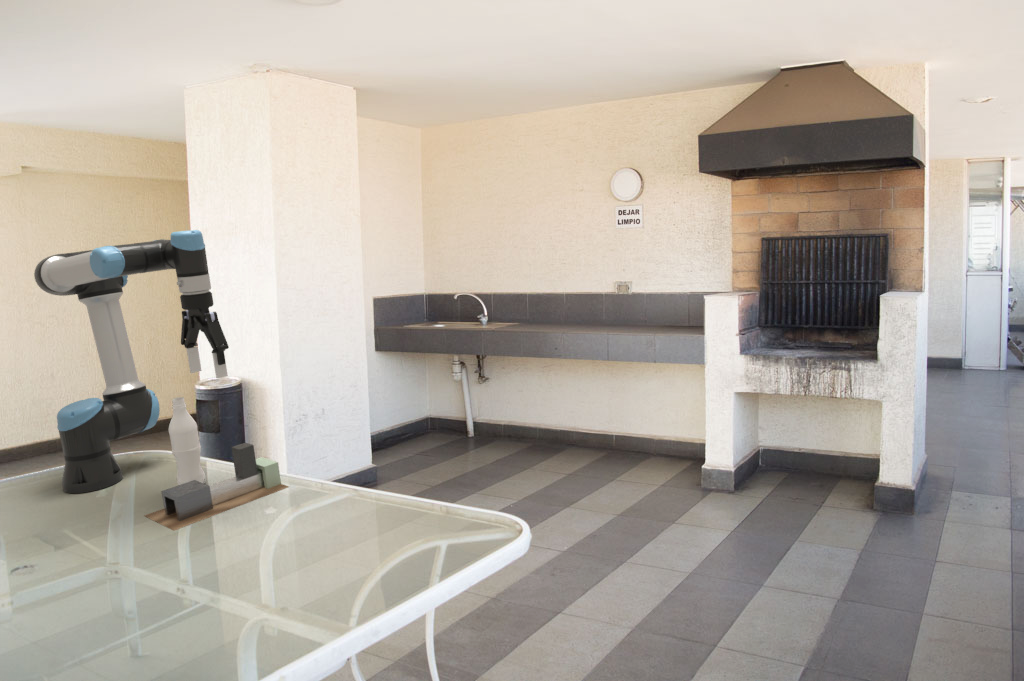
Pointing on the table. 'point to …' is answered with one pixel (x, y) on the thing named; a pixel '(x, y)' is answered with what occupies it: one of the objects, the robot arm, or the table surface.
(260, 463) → the socket block
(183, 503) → the sleeve
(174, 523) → the base board
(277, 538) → the table surface
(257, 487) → the rod
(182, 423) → the water bottle
